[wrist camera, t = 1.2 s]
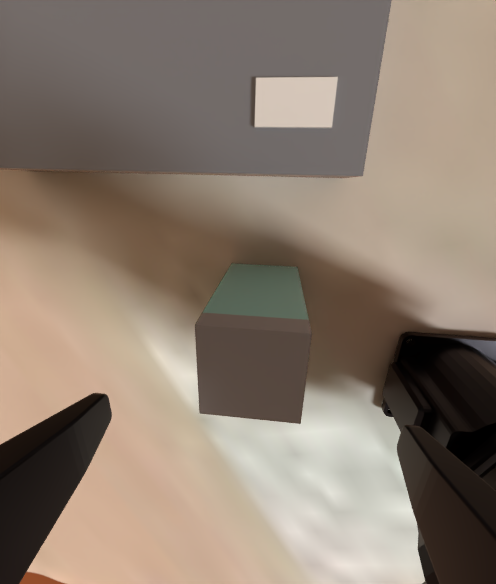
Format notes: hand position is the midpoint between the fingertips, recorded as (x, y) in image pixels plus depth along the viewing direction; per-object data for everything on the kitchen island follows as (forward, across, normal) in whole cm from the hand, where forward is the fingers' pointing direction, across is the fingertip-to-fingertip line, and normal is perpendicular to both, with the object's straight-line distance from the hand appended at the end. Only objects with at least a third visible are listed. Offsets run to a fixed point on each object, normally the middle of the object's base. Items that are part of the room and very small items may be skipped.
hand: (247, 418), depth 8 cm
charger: (+10, 0, 0) cm, 10 cm away
